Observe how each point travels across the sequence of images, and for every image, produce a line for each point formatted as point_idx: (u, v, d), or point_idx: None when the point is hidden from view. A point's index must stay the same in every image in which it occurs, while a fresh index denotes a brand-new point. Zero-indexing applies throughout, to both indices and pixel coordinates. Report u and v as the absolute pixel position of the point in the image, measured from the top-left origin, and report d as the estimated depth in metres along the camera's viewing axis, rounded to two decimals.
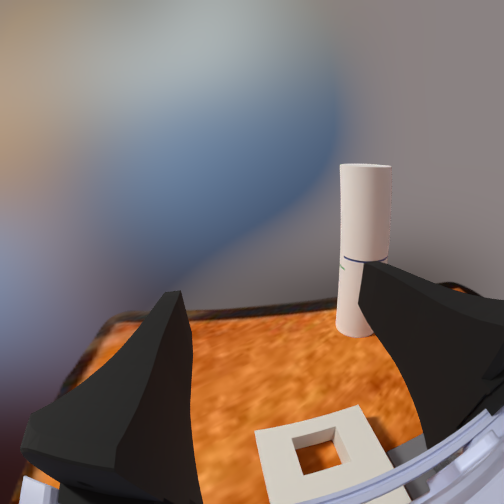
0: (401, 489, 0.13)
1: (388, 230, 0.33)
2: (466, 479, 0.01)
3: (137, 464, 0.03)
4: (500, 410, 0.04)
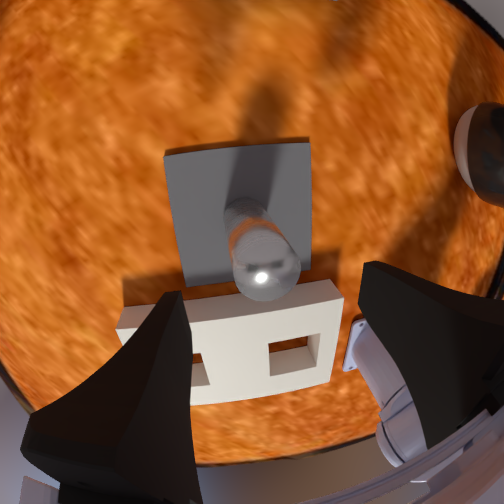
0: (264, 315, 0.20)
1: None
2: (466, 479, 0.01)
3: (137, 464, 0.03)
4: (500, 410, 0.04)
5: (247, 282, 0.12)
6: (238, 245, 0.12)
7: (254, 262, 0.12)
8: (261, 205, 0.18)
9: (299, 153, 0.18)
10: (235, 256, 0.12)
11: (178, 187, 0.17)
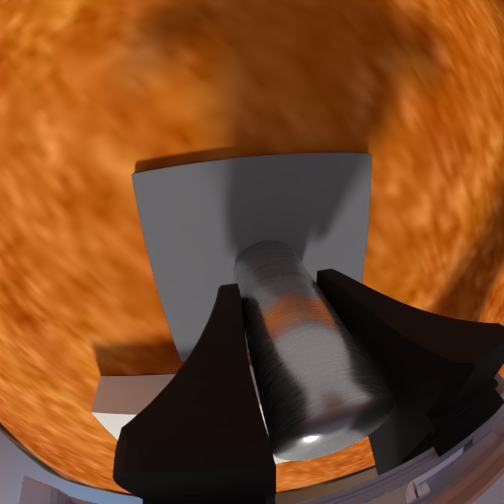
0: None
1: None
2: (466, 479, 0.01)
3: None
4: (500, 410, 0.04)
5: (295, 450, 0.05)
6: (279, 390, 0.05)
7: (315, 431, 0.05)
8: (297, 256, 0.11)
9: (356, 169, 0.11)
10: (274, 414, 0.05)
11: (159, 226, 0.10)
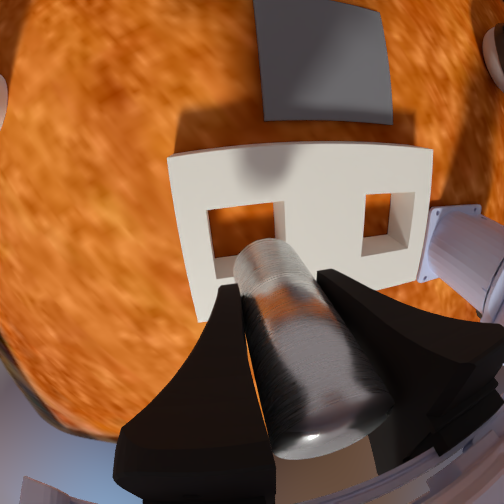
0: (363, 148, 0.15)
1: None
2: (466, 479, 0.01)
3: None
4: (500, 410, 0.04)
5: (295, 448, 0.05)
6: (281, 386, 0.05)
7: (316, 428, 0.05)
8: (297, 254, 0.11)
9: (372, 17, 0.13)
10: (275, 411, 0.05)
11: (267, 16, 0.12)
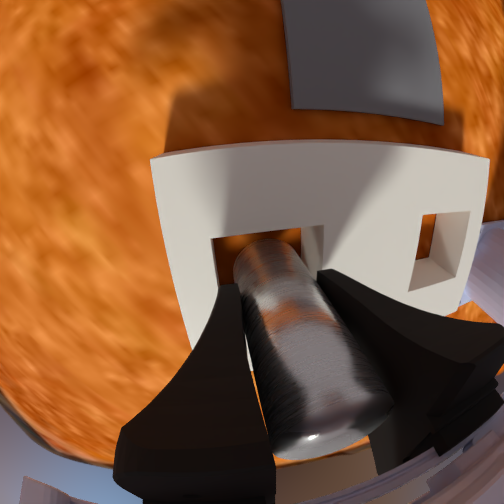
0: (424, 154, 0.10)
1: None
2: (466, 479, 0.01)
3: None
4: (500, 410, 0.04)
5: (295, 448, 0.05)
6: (280, 386, 0.05)
7: (316, 428, 0.05)
8: (297, 255, 0.11)
9: None
10: (275, 411, 0.05)
11: None
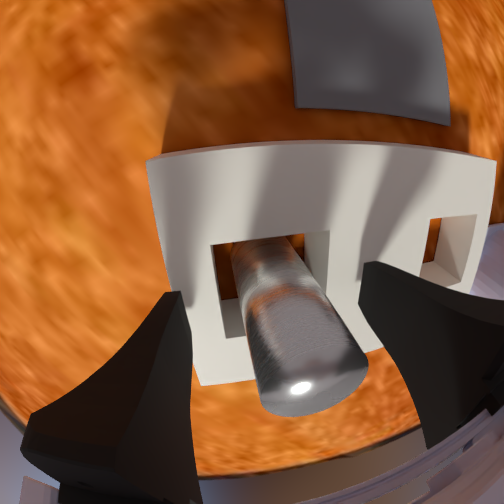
0: (433, 156, 0.09)
1: None
2: (466, 479, 0.01)
3: (137, 464, 0.03)
4: (500, 410, 0.04)
5: (281, 401, 0.06)
6: (267, 341, 0.07)
7: (297, 377, 0.06)
8: (287, 240, 0.12)
9: None
10: (262, 362, 0.06)
11: None
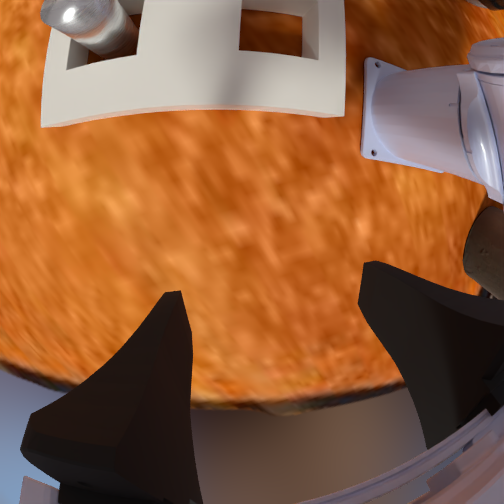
0: None
1: None
2: (466, 479, 0.01)
3: (137, 464, 0.03)
4: (500, 410, 0.04)
5: (49, 8, 0.05)
6: None
7: None
8: (133, 23, 0.11)
9: None
10: None
11: None
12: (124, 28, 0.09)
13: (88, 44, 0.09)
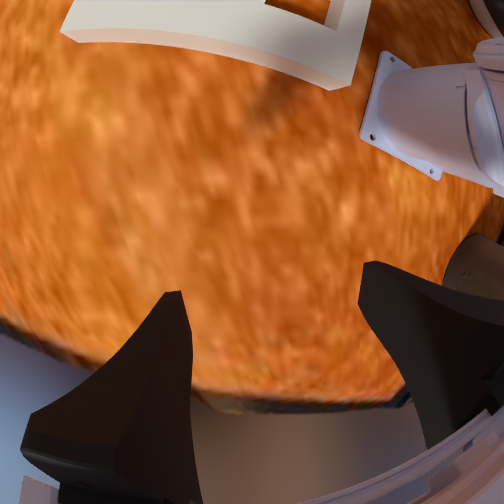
0: None
1: None
2: (466, 479, 0.01)
3: (137, 464, 0.03)
4: (500, 410, 0.04)
5: None
6: None
7: None
8: None
9: None
10: None
11: None
12: None
13: None
